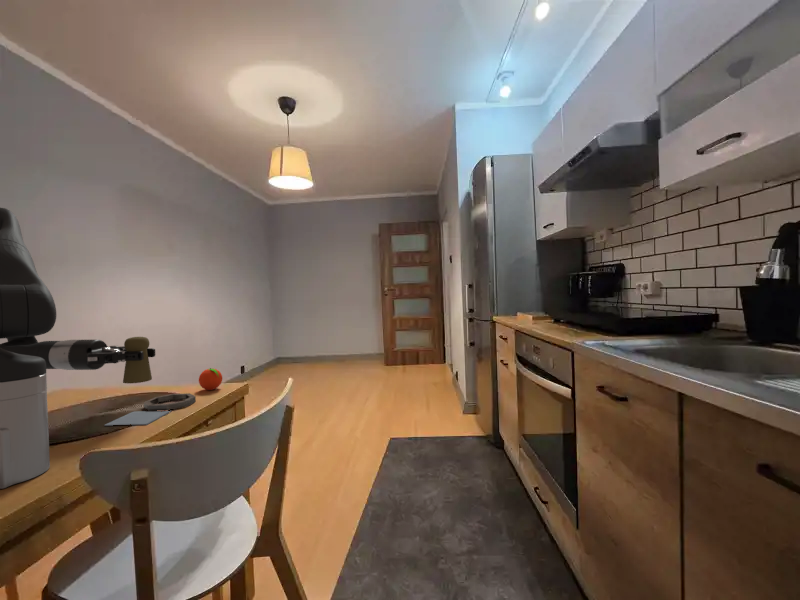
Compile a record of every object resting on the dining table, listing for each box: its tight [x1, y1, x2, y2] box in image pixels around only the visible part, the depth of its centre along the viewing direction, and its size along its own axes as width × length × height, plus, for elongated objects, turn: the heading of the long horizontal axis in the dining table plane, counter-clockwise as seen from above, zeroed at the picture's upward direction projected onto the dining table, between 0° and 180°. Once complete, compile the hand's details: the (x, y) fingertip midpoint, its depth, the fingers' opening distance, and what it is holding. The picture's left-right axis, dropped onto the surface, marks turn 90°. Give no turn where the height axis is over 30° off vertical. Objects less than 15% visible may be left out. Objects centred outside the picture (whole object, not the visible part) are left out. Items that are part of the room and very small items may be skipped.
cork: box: [122, 336, 153, 384], centre depth 94 cm, size 6×6×11 cm
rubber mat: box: [104, 410, 172, 427], centre depth 95 cm, size 10×10×1 cm
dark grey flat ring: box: [143, 392, 197, 411], centre depth 106 cm, size 12×12×2 cm
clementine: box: [198, 367, 223, 391], centre depth 122 cm, size 8×7×7 cm
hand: (148, 354), depth 94 cm, fingers closed on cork, 4 cm apart
